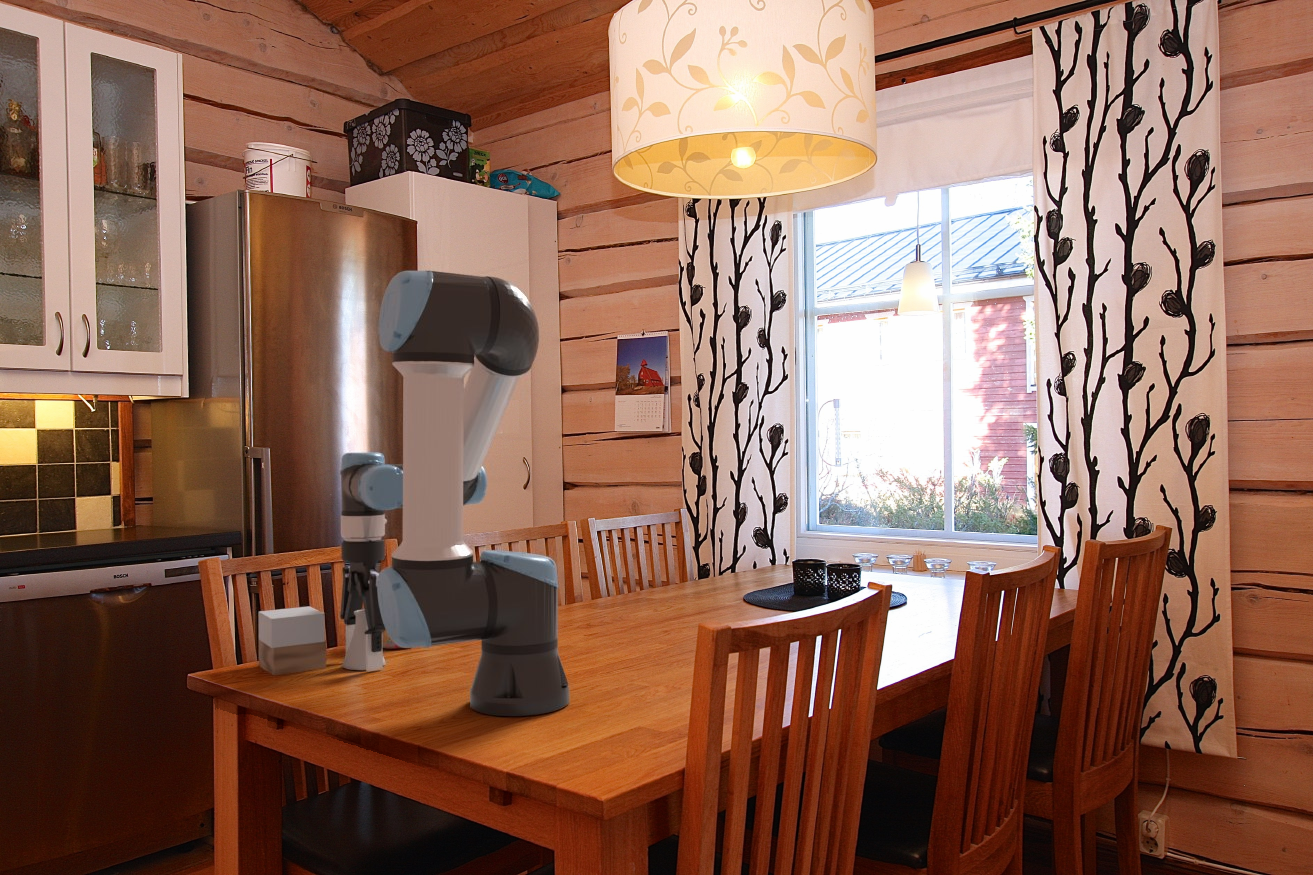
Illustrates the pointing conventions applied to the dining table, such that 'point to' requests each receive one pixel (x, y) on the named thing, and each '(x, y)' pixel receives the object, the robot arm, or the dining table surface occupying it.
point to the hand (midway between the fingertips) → (363, 664)
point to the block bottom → (292, 658)
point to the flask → (358, 645)
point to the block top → (291, 626)
